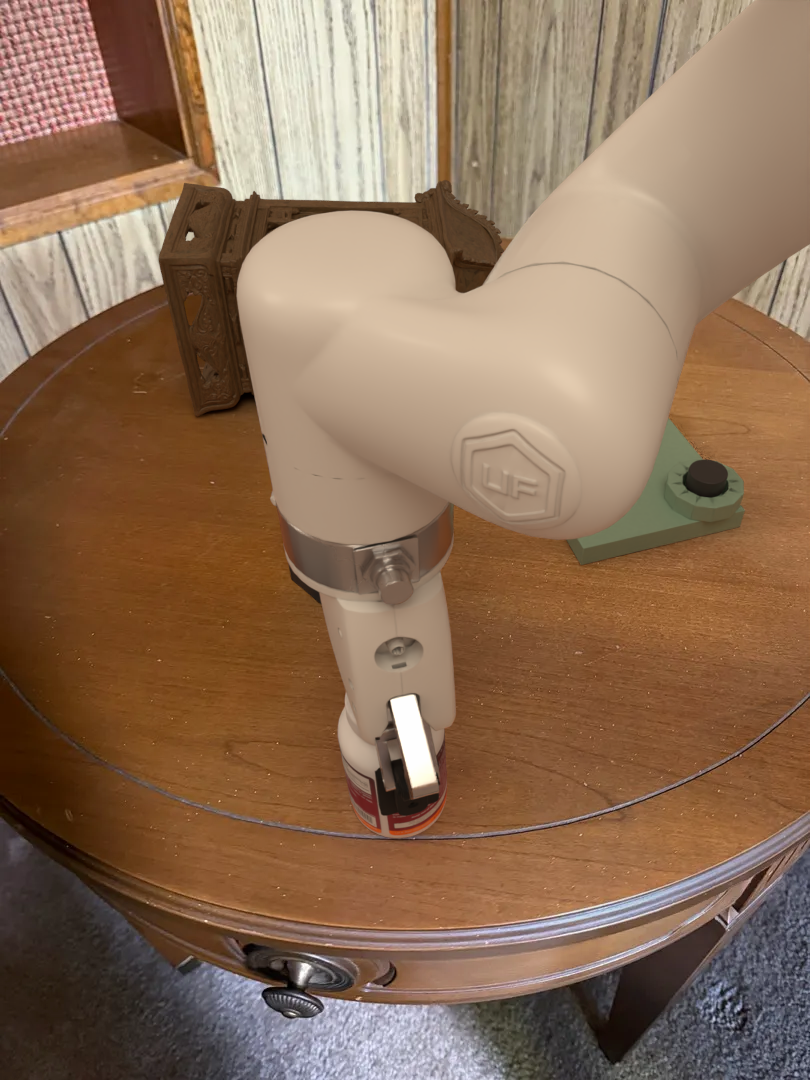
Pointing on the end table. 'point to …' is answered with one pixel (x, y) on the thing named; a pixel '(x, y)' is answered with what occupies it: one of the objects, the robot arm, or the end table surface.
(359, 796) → the pill bottle
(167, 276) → the brown lantern
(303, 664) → the end table surface
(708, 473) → the button
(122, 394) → the end table surface
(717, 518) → the scale
